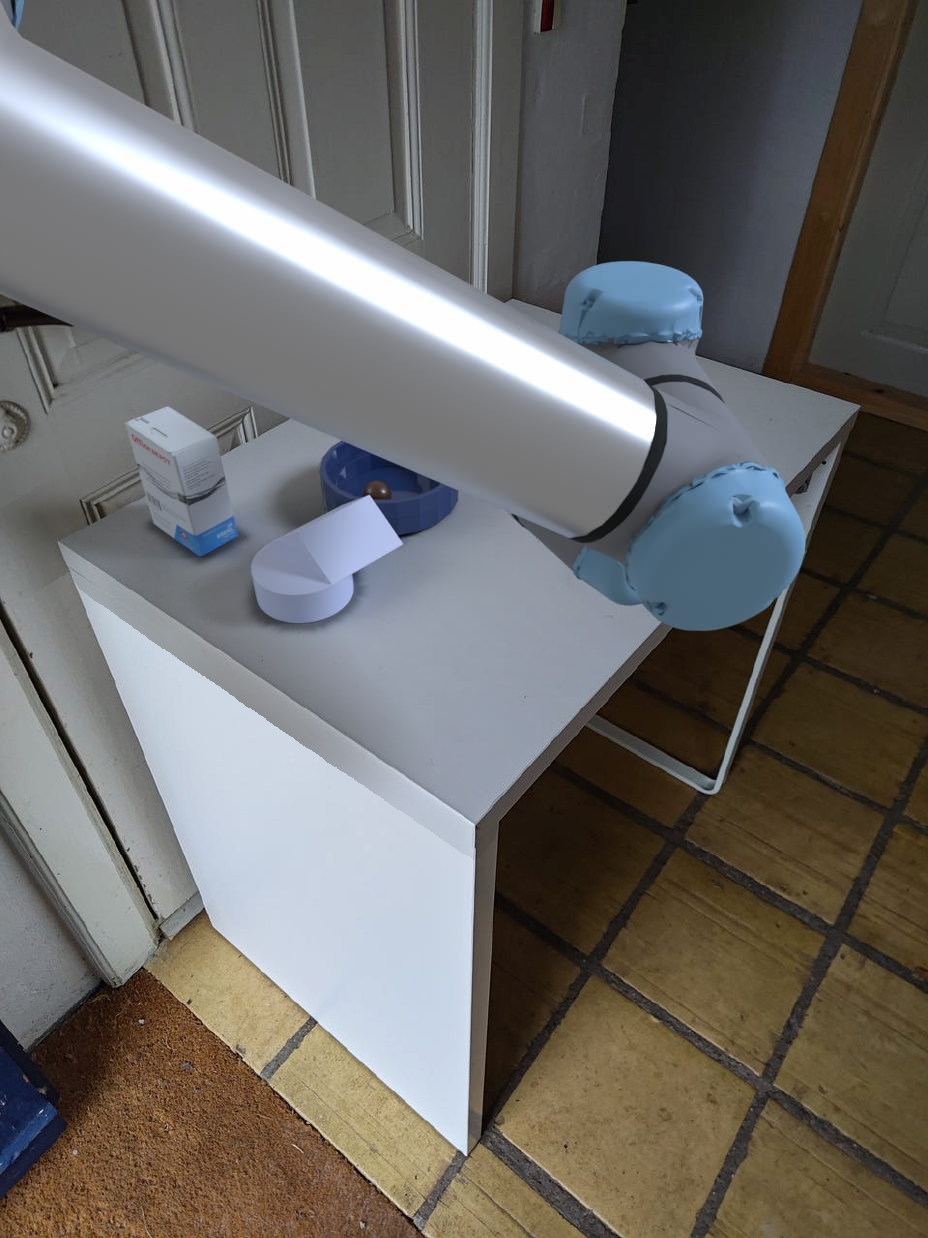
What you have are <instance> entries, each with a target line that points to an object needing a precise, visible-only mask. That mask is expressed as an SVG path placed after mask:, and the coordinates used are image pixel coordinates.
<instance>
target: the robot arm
mask: <svg viewBox="0 0 928 1238" xmlns="http://www.w3.org/2000/svg"><path fill="white" fill-rule="evenodd" d="M24 3H25V0H0V295H1V296H3V297H5V298H8V299H11V300H13V301H15V302H17V303H20V304H22V305H24V306H27V307H29V308H32V309H34V310H37V311H38V312H41V313H43V314H46V315H48V316H50V317H53V318H55V319H57V320H59V321H62V322H63V323H64V322H65V323H67V324H69V325H71V326H73V327H75V328H78V329H81V330H83V331H86V332H87V333H90V334H92V335H95V336H97V337H99V338H101V339H103V340H106V341H108V342H111V343H113V344H115V345H118V346H120V347H122V348H124V349H127V350H129V351H132V352H133V353H136V354H139V355H141V356H142V357H143V356H144V357H145V358H147V359H151V360H153V361H155V362H158V363H159V364H162V365H164V366H166V367H169V368H171V369H174V370H176V371H178V372H181V373H183V374H186V375H188V376H189V377H191V378H195V379H197V380H200V381H202V382H203V383H206V384H208V385H210V386H211V385H212V386H214V387H215V388H218V389H220V390H222V391H225V392H228V393H230V394H231V395H235V396H237V397H239V398H241V399H244V400H246V401H249V402H251V403H253V404H255V405H258V406H260V407H263V408H265V409H267V410H269V411H272V412H274V413H276V414H278V415H281V416H283V417H286V418H288V419H291V420H293V421H295V422H298V423H300V424H302V425H305V426H307V427H309V428H312V429H314V430H316V431H318V432H321V433H323V434H326V435H328V436H330V437H332V438H334V439H337V440H339V441H344V442H346V443H349V444H351V445H353V446H356V447H358V448H360V449H363V450H365V451H367V452H370V453H372V454H374V455H377V456H379V457H381V458H384V459H386V460H388V461H391V462H393V463H395V464H398V465H400V466H402V467H405V468H407V469H409V470H412V471H414V472H416V473H419V474H421V475H423V476H426V477H428V478H430V479H433V480H435V481H437V482H440V483H442V484H444V485H447V486H449V487H451V488H454V489H456V490H458V492H461V493H463V494H465V495H468V496H470V497H472V498H475V499H477V500H479V501H482V502H484V503H487V504H489V505H491V506H494V507H496V508H498V509H500V510H503V511H504V512H505V513H506V514H507V515H508V516H510V517H511V518H512V519H513V520H514V521H516V522H517V523H518V524H519V525H520V526H521V527H522V528H524V529H525V530H527V531H528V532H530V534H532V535H533V536H534V537H535V538H536V539H537V540H538V541H540V542H541V544H542V545H544V546H545V547H546V548H547V549H548V550H549V551H550V552H551V553H553V554H554V556H555V557H557V558H558V559H559V560H560V561H561V562H562V564H564V565H565V566H566V567H567V568H568V569H570V571H572V574H573V576H575V578H576V579H578V580H580V581H583V582H584V583H585V584H587V585H588V586H590V587H592V588H593V589H594V590H595V591H597V592H598V593H600V594H601V595H602V596H604V597H605V598H607V599H608V600H609V601H611V602H613V603H615V604H617V605H620V606H627V607H631V606H638V605H642V606H643V607H644V608H645V610H646V611H648V612H649V613H650V614H651V616H653V617H654V618H655V619H656V620H657V621H658V622H661V623H662V624H664V625H667V626H668V627H672V628H674V629H678V630H682V631H690V632H691V631H693V632H696V631H698V632H700V631H701V632H709V631H716V630H721V629H726V628H729V627H732V626H736V625H738V624H741V623H743V622H746V621H747V620H750V619H752V618H753V617H755V616H757V615H758V614H760V613H762V612H764V610H766V609H768V607H770V606H771V604H772V603H773V602H774V600H776V599H777V598H779V597H780V596H782V594H783V592H784V591H785V590H787V589H788V588H789V587H790V585H792V583H793V581H794V579H795V578H796V576H797V575H798V573H799V571H800V568H801V566H802V563H803V559H804V556H805V552H806V533H805V529H804V525H803V522H802V519H801V517H800V515H799V513H798V512H797V510H796V508H795V506H794V504H793V502H792V501H791V498H790V497H789V495H788V493H787V491H786V485H785V482H784V480H783V479H782V478H781V477H780V473H779V471H778V470H777V469H775V468H773V467H772V466H770V464H769V463H768V461H767V460H766V458H765V457H764V455H763V454H762V453H761V452H760V450H759V449H758V448H757V446H756V444H755V443H754V442H753V440H752V439H751V437H750V436H749V435H748V434H747V432H746V431H745V430H744V427H742V424H740V422H739V421H738V420H737V418H736V417H735V415H734V414H733V413H732V411H731V410H730V408H729V407H728V405H727V404H726V402H725V401H724V398H723V397H722V395H721V394H720V393H719V391H718V389H717V388H716V386H715V384H714V383H713V382H712V381H711V379H710V378H709V376H708V375H707V374H706V372H705V371H704V369H703V367H701V365H700V364H699V362H698V361H697V360H696V359H697V358H696V350H697V347H698V344H699V340H700V339H701V338H702V336H703V330H702V327H701V326H702V317H703V307H704V294H703V290H702V288H701V287H700V285H699V283H697V281H696V280H695V279H693V278H692V277H691V276H690V275H688V274H687V273H685V272H683V271H681V270H679V269H677V268H673V267H672V266H667V265H663V264H661V263H660V264H658V263H653V262H647V261H635V260H625V261H623V260H621V261H610V262H604V263H599V264H596V265H593V266H590V267H588V268H586V269H584V270H582V271H580V272H579V273H578V274H576V275H575V276H574V277H573V278H572V279H571V280H570V282H569V283H568V285H567V287H566V289H565V291H564V298H563V304H562V312H561V317H560V323H559V329H558V331H555V330H554V329H552V328H551V327H548V326H546V325H544V324H543V323H541V322H539V321H538V320H536V319H534V318H532V317H530V316H528V315H527V314H524V313H522V312H521V311H520V310H517V309H516V308H514V307H512V306H510V305H508V304H507V303H505V302H503V301H501V300H499V299H497V298H495V297H494V296H492V295H490V294H488V293H486V292H485V291H483V290H481V289H479V288H478V287H476V286H474V285H472V284H470V283H469V282H467V281H465V280H463V279H461V278H460V277H457V276H456V275H454V274H452V273H451V272H448V271H447V270H445V269H443V268H441V267H440V266H437V265H435V264H434V263H432V262H431V261H428V260H426V259H425V258H423V257H421V256H419V255H417V254H416V253H414V252H412V251H410V250H409V249H407V248H405V247H403V246H401V245H399V243H398V244H397V243H396V242H394V241H392V240H390V239H388V238H387V237H385V236H383V235H381V234H379V233H378V232H376V231H374V230H372V229H370V228H368V227H367V226H365V225H363V224H362V223H360V222H358V221H356V220H354V219H352V218H350V217H349V216H347V215H345V214H343V213H341V212H340V211H338V210H336V209H334V208H333V207H330V206H329V205H327V204H325V203H324V202H322V201H319V200H318V199H316V198H314V197H313V196H311V195H309V194H307V193H305V192H304V191H302V190H300V189H298V188H296V187H295V186H293V185H291V184H289V183H288V182H285V181H283V180H282V179H280V178H278V177H277V176H274V175H273V174H271V173H269V172H267V171H265V170H263V169H261V168H260V167H258V166H256V165H254V164H253V163H251V162H249V161H247V160H245V159H244V158H242V157H240V156H238V155H236V154H235V153H233V152H231V151H229V150H227V149H226V148H224V147H222V146H220V145H218V144H216V143H214V142H212V141H210V140H209V139H207V138H206V137H204V136H202V135H200V134H198V133H196V132H194V131H193V130H191V129H189V128H187V127H185V126H184V125H182V124H180V123H178V122H176V121H175V120H173V119H171V118H169V117H167V116H165V115H164V114H162V113H160V112H158V111H156V110H154V109H153V108H151V107H150V106H148V105H146V104H144V103H142V102H140V101H138V100H136V99H135V98H133V97H131V96H129V95H128V94H126V93H124V92H122V91H120V90H119V89H116V88H114V86H111V85H109V84H107V82H104V81H102V80H100V79H98V78H97V77H95V76H93V75H92V74H89V73H88V72H86V71H84V70H82V69H80V68H78V67H76V66H75V65H73V64H72V63H70V62H67V61H66V60H63V59H62V58H60V57H59V56H57V55H55V54H53V53H52V52H49V51H47V50H46V49H44V48H42V47H40V46H39V45H38V44H37V45H36V44H35V43H33V42H31V41H30V40H28V39H25V38H24V37H22V35H21V34H20V33H19V32H18V31H19V27H20V24H21V20H22V16H23V11H24Z"/></svg>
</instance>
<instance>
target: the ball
mask: <svg viewBox="0 0 928 1238" xmlns="http://www.w3.org/2000/svg"><path fill="white" fill-rule="evenodd" d="M368 495H370V496H371V498H372V499H373V500H391V498H392V493H391V490H390V488H389V486H388V485H387V484H385V483H384V482H382V481H372V482H370V483H368V484H367V485H366V486H365V488H364V490H363V497H365V496H368Z"/></svg>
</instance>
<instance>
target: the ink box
mask: <svg viewBox="0 0 928 1238" xmlns="http://www.w3.org/2000/svg"><path fill="white" fill-rule="evenodd" d="M124 425H125V429H126V431H127V435H128V438H129V442H130V445H131V449H132V452H133V456H134V460H135V463H136V466H137V469H138V473H139V476H140V480H141V484H142V487H143V492H144V494H145V498H146V501H147V505H148V508H149V512H150V515H151V519H152V523H153V525H155V526H156V527H157V528H159V529H160V530H162V531H163V532H165V534H167V535H168V536H170V537H171V538H173V539H174V540H176V542H178V543H180V544H181V545H182V546H184V547H185V548H187V549H188V551H189V550H190V551H191V552H192V553H194V554H195V555H196V556H198V557H203V556H205V555H208V554H209V553H211V552H213V551H214V550H216V549H218V548H219V547H221V546H223V545H225V544H227V543H228V542H230V541H232V540H234V539H236V538H237V537H239V534H238V530H237V525H236V520H235V517H234V511H233V506H232V502H231V497H230V494H229V488H228V484H227V479H226V474H225V471H224V466H223V461H222V456H221V451H220V447H219V442H218V437H217V436H216V435H215V434H213V433H211V432H210V431H208V430H207V429H205V428H204V427H202V426H200V425H199V424H198V423H196V422H194V421H192V420H190V419H189V418H188V417H186V416H185V415H182V414H181V413H179V412H178V411H176V410H175V409H173V408H172V407H170V406H164V407H162V408H160V409H157V410H153V411H151V412H149V413H147V414H144V415H141V416H138V417H135V418H133V419H130V420H128V421H125V422H124Z"/></svg>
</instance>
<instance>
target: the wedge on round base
mask: <svg viewBox="0 0 928 1238" xmlns="http://www.w3.org/2000/svg"><path fill="white" fill-rule="evenodd" d="M403 545H404V543H403V541H402V540H401V538H400V537H399V535H397V534H396V533H395V531H394V530H393V528H392V527H391V525H390V524H389V523H388V521H387V520H386V518H385V517H384V515H383V514H382V512H381V511H380V509H379V508H378V506H377V505H376V504H375V502H374V501H373V499H372V498H371V496H370V495H368V496H365V497H362V498H360V499H357V500H354V501H352V502H349V503H346V504H344V505H341V506H339V507H337V508H335V509H334V510H332V511H330V512H326V513H324V514H322V515H320V516H318V517H316V518H314V519H312V520H311V521H308V522H307V523H304V524H302V525H301V526H298V527H297V528H295V529H293V530H291V531H289V532H287V533H285V534H283V535H282V536H279V537H278V538H276V539H274V540H272V541H270V542H268V543H267V544H266V545H264V546H262V548H260V549H259V550H258V551H257V553H256V554H255V555H254V556H253V559H252V561H251V563H250V572H251V573H250V574H251V576H252V577H251V578H252V582H253V587H254V593H255V596H256V601H257V605H258V606H259V608H260V609H261V610H262V611H263V612H264V613H265V614H266V615H267V616H269V617H270V618H272V619H274V620H277V621H281V622H283V623H290V624H308V623H315V622H318V621H319V622H320V621H322V620H325V619H327V618H330V617H332V616H334V615H336V614H337V613H339V612H341V611H342V610H343V609H344V608H345V607H346V606H347V605H348V604H349V602H350V601H351V599H352V597H353V595H354V589H355V588H354V587H355V586H354V577H353V574H354V573H356V572H358V571H360V570H361V569H363V568H365V567H367V566H368V565H370V564H372V563H374V562H375V561H377V560H379V559H380V558H382V557H384V556H385V555H387V554H389V553H390V552H392V551H394V550H396V549H398V548H399V547H401V546H403Z"/></svg>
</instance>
